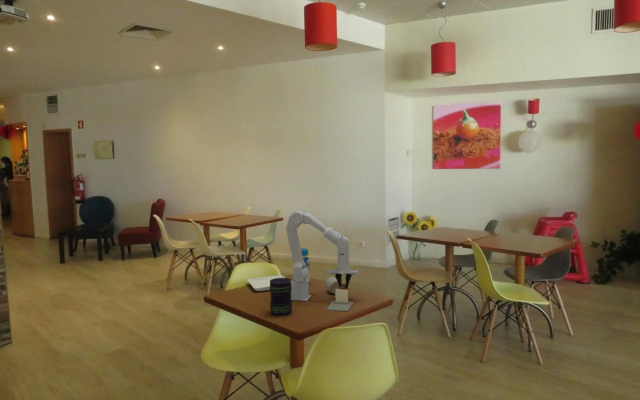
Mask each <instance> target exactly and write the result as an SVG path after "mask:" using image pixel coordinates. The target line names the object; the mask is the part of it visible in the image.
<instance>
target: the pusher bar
mask: <svg viewBox="0 0 640 400" xmlns="http://www.w3.org/2000/svg"><path fill="white" fill-rule="evenodd" d="M340 289H346V283H342V285H341V286H340Z"/></svg>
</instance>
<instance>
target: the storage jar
mask: <svg viewBox="0 0 640 400" xmlns="http://www.w3.org/2000/svg"><path fill="white" fill-rule="evenodd" d="M291 281H292V279H291V278H288V277H285V278H275V279H271V280H270V290H269V293H270V302H269V304H270V305H269V308H270V315H271V316H273V317H286V316H290V315H292V313H293V300H291V291H292V290H291V288H292V286H291Z"/></svg>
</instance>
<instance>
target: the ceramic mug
mask: <svg viewBox="0 0 640 400" xmlns="http://www.w3.org/2000/svg"><path fill="white" fill-rule="evenodd" d="M324 285H325V288H326V289H327V290H328V291H329V292H330V293H331V294H334V295H336V293H335V289H340V288H339V284H338V282H337V279H336V278H335V276H329V277H328V278H327V279H326V281H325V284H324Z"/></svg>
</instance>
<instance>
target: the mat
mask: <svg viewBox="0 0 640 400" xmlns="http://www.w3.org/2000/svg"><path fill="white" fill-rule="evenodd" d="M353 303H354V301H351V300H350V301H349V300H348V302H336V300H335V299H334V300H332V301H331V303H330V304H329V306H328V307H327V308H326V311H330V312H331V311H332V312H349V311H350V310H351V307H352V306H353Z"/></svg>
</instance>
